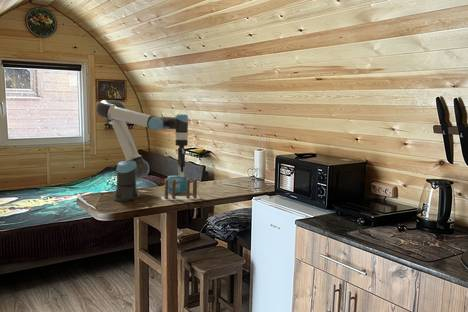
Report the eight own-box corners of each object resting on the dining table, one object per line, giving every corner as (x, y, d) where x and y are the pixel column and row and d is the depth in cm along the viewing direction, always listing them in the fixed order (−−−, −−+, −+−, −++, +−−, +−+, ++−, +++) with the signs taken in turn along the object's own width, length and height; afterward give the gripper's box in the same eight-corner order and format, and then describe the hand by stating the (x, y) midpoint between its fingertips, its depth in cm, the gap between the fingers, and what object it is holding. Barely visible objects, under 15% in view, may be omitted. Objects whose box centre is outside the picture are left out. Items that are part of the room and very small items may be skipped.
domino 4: (187, 198, 266) (187, 179, 265) (185, 196, 271) (186, 178, 270) (189, 198, 267) (189, 179, 266) (188, 196, 272) (188, 178, 270)
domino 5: (194, 198, 268) (194, 179, 266) (192, 196, 273) (193, 178, 271) (196, 198, 268) (197, 179, 267) (195, 196, 273) (195, 178, 272)
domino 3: (180, 178, 264) (180, 158, 262) (179, 176, 269) (179, 157, 267) (183, 177, 264) (183, 158, 263) (181, 176, 269) (182, 157, 268)
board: (162, 201, 260) (162, 200, 260) (160, 198, 269) (160, 196, 269) (200, 200, 267) (200, 198, 266) (197, 197, 276) (197, 195, 276)
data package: (169, 194, 280) (169, 176, 279) (166, 193, 284) (167, 175, 283) (186, 193, 286) (186, 176, 285) (183, 192, 290) (183, 175, 289)
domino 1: (165, 199, 263) (165, 179, 261) (164, 197, 268) (164, 178, 266) (168, 198, 263) (168, 179, 262) (167, 197, 268) (167, 178, 267)
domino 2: (172, 198, 264) (173, 179, 263) (171, 197, 269) (171, 178, 267) (175, 198, 264) (175, 179, 263) (174, 197, 269) (174, 178, 268)
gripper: (190, 140, 256) (189, 178, 259) (185, 138, 273) (184, 173, 276) (177, 140, 254) (177, 178, 257) (173, 138, 271) (173, 174, 274)
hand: (181, 176), depth 266 cm, fingers closed on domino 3, 5 cm apart
